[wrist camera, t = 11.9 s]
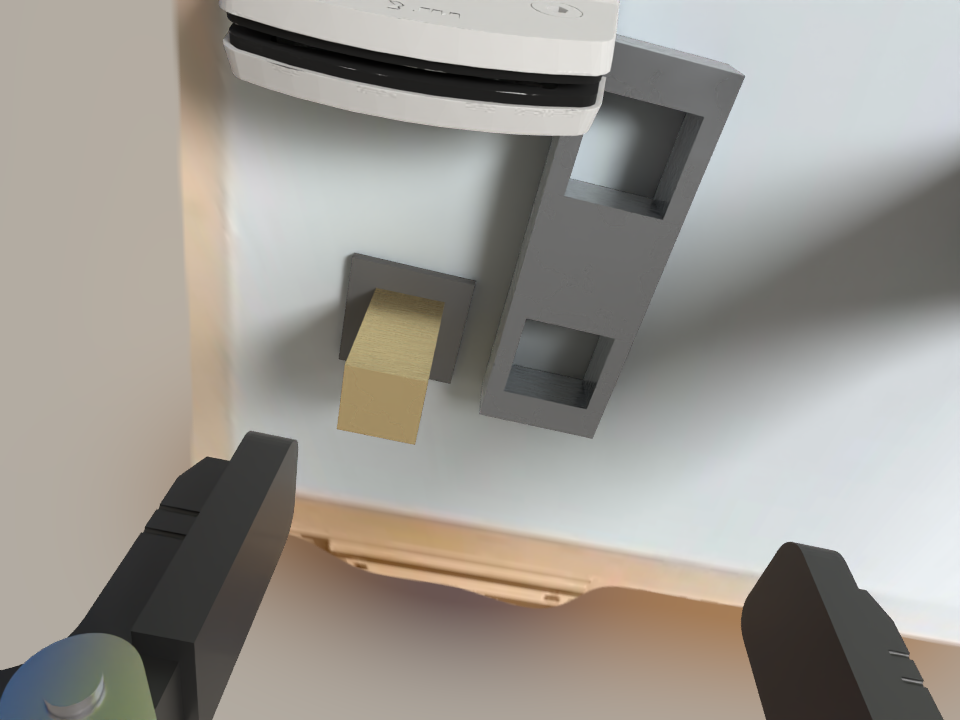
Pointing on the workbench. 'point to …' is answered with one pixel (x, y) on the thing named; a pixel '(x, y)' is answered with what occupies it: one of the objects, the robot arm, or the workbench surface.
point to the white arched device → (433, 58)
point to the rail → (604, 243)
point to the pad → (416, 283)
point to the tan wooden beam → (390, 367)
